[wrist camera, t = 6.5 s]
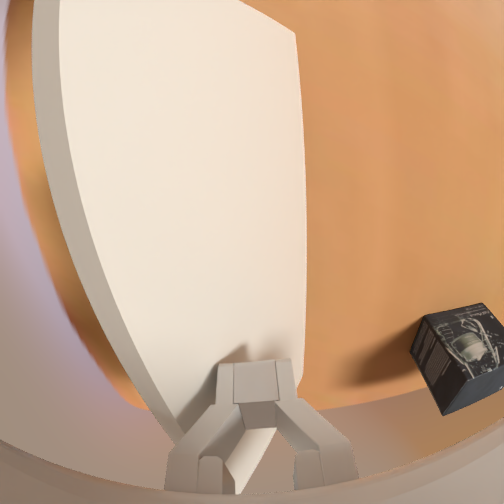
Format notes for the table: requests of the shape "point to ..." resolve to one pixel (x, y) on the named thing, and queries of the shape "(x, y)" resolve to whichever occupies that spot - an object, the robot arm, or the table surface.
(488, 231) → the table surface
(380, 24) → the table surface
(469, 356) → the box
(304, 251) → the cover
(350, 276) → the table surface
